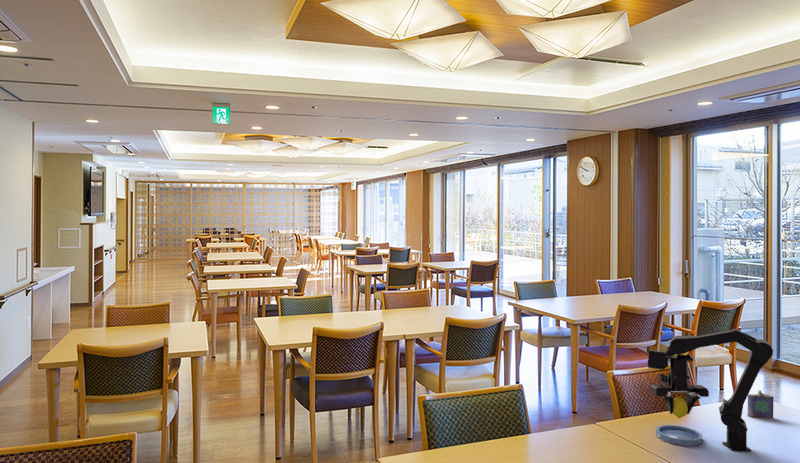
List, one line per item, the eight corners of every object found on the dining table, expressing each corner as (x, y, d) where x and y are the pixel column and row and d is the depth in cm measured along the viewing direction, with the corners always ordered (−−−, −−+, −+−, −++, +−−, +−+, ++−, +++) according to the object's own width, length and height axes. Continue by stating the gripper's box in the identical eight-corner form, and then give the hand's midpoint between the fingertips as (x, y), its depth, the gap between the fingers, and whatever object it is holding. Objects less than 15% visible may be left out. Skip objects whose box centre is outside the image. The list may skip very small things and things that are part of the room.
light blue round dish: (710, 446, 185) (710, 440, 185) (667, 445, 186) (667, 439, 186) (689, 430, 200) (689, 425, 200) (649, 429, 201) (649, 424, 201)
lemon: (683, 415, 195) (683, 394, 196) (690, 421, 190) (690, 399, 190) (668, 415, 196) (668, 393, 196) (674, 420, 191) (674, 398, 191)
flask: (748, 417, 215) (748, 390, 215) (745, 414, 218) (746, 388, 218) (774, 419, 213) (774, 392, 213) (771, 416, 216) (771, 390, 216)
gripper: (693, 366, 201) (693, 406, 201) (643, 365, 202) (644, 406, 201) (709, 373, 190) (709, 417, 190) (656, 373, 190) (657, 416, 190)
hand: (679, 413), depth 193 cm, fingers closed on lemon, 5 cm apart
